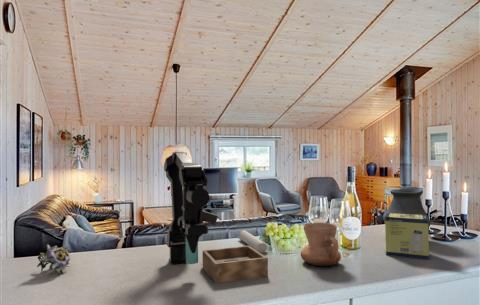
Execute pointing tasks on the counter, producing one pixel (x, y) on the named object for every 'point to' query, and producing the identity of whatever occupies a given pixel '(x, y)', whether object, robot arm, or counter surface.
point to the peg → (191, 255)
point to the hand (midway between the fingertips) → (192, 251)
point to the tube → (252, 241)
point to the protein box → (407, 235)
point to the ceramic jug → (321, 244)
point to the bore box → (234, 264)
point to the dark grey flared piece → (406, 202)
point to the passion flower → (55, 259)
